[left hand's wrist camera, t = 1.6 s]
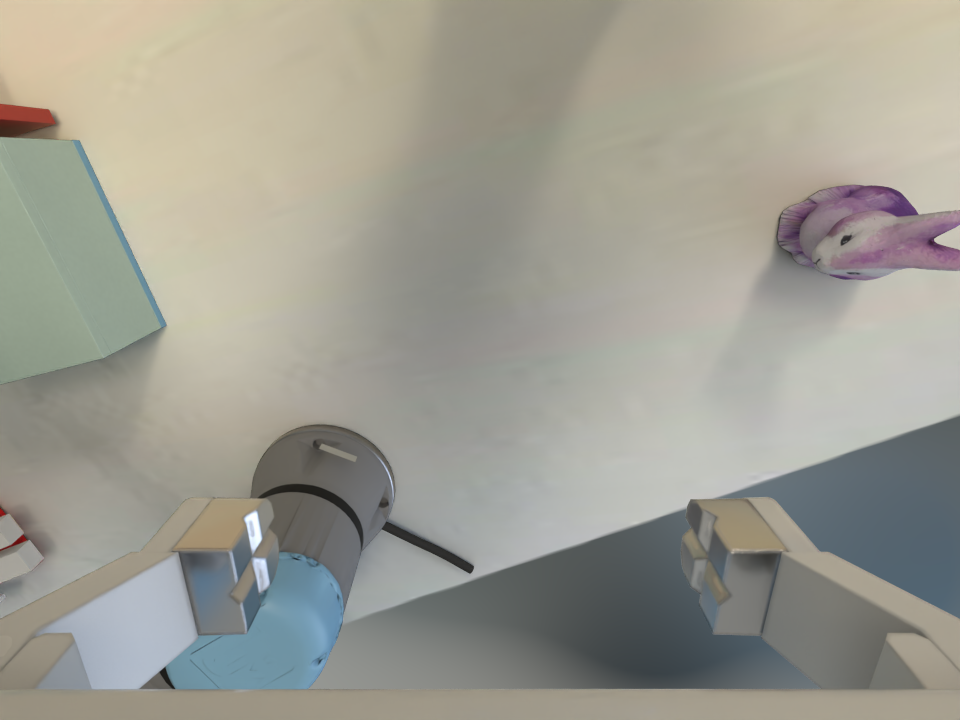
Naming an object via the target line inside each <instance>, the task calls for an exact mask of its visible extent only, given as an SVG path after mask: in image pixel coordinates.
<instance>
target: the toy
mask: <svg viewBox="0 0 960 720" xmlns="http://www.w3.org/2000/svg"><path fill="white" fill-rule="evenodd" d="M23 534H24V532H23V530H22V529H21V528H20V527H19V525H18V524H17V523H16V521H15V520H14V519H13V518H12V516H11V515H10V514H7V515H6V514H5V513H4V512H3V510H2V509H1V508H0V583H2V582H5V581H7V580H10V579H12V578H15V577H18V576H20V575H23V574H25V573H28V572H30V571H32V570H33V569H34V568H35V567H36V566H37V565H38V564H39V563H40V562H41V561H42V560H43V559H44V557H43V556H42V555H41V554H40V552H39V551H38V550H37V548H36V547H35V546H34V545H33V543H32V542H31V541H30V540H28V541H27V540H26V538H25V537H24V536H23ZM5 598H6V596H5V595H4V594H1V595H0V603H1V602H2V601H3V600H4V599H5Z"/></svg>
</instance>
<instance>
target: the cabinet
mask: <svg viewBox="0 0 960 720" xmlns="http://www.w3.org/2000/svg"><path fill="white" fill-rule="evenodd" d="M164 326H166V323H165V321H164V319H163V317H162V315H161V312H160V310H159V308H158V306H157V304H156V302H155V300H154V298H153V296H152V293H151V291H150V289H149V287H148V285H147V283H146V281H145V279H144V277H143V274H142V272H141V270H140V268H139V266H138V264H137V262H136V260H135V257H134V255H133V253H132V251H131V249H130V247H129V245H128V243H127V241H126V238H125V236H124V234H123V232H122V230H121V228H120V226H119V224H118V222H117V219H116V217H115V215H114V213H113V211H112V209H111V207H110V205H109V203H108V200H107V198H106V196H105V194H104V192H103V190H102V188H101V186H100V183H99V181H98V179H97V177H96V175H95V173H94V171H93V169H92V167H91V164H90V162H89V160H88V158H87V156H86V154H85V152H84V150H83V148H82V145H81V143H80V141H79V140H71V141H70V140H53V139H32V138H10V137H0V385H1V384H5V383H9V382H13V381H17V380H21V379H25V378H28V377H32V376H36V375H40V374H44V373H48V372H52V371H56V370H60V369H64V368H68V367H72V366H75V365H79V364H83V363H87V362H91V361H95V360H99V359H103V358H105V357H107V356H109V355H111V354H113V353H115V352H117V351H118V350H120V349H122V348H124V347H126V346H128V345H130V344H132V343H134V342H136V341H137V340H139V339H141V338H143V337H145V336H147V335H149V334H151V333H153V332H155V331H156V330H158V329H160V328H163V327H164Z"/></svg>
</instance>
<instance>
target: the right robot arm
mask: <svg viewBox="0 0 960 720" xmlns="http://www.w3.org/2000/svg"><path fill="white" fill-rule="evenodd" d="M394 496H395V482H394V477H393V473H392V471H391V468H390V466H389V464H388V462H387V460H386V459H385V457H384V456H383V455H382V453H381V452H380V451H379V450H378V449H377V448H376V447H375V446H374V445H373V444H372V443H371V442H369V441H368V440H366V439H365V438H363V437H362V436H360V435H358V434H356V433H354V432H352V431H349V430H347V429H343V428H340V427H335V426H328V425H311V426H305V427H301V428H297V429H295V430H292V431H290V432H288V433H286V434H284V435H282V436H281V437H279V438H278V439H277V440H276V441H275V442H274V443H273V444H272V445H271V446H270V447H269V448H268V449H267V451H266V452H265V453H264V455H263V456H262V458H261V459H260V461H259V463H258V466H257V468H256V471H255V473H254V477H253V482H252V491H251V498H260V499H268V500H269V501H270V502H271V503H272V507H273V512H274V519H273V521H272V523H271V525H270V526H269V528H270V529H271V530H272V531H273V532H274V533H275V534H276V535H277V536H278V543H279V562H278V566H277V571H276V575H275V577H274V579H273V582H272V584H271V586H270V587H269V588H268V589H266V590H265V591H264V592H262V593H261V594H259V595H260V601H261V607H260V609H259V611H258V613H257V615H256V617H255V619H254V621H253V623H252V625H251V627H250V629H249V631H248V633H247V634H241V635H206V636H198V637H199V638H198V639H197V640H196V641H195V642H194V643H192V644H191V645H190V646H189V647H188V648H187V649H185V650H184V651H183V652H182V653H181V654H179V655H178V656H177V657H176V658H175V659H174V660H172V661H171V662H170V663H169V664H168V665H167V666H165V667H164V668H163V669H162V670H161V671H159V672H158V673H157V674H156V675H155V676H154V677H152V678H151V679H150V680H149V681H148V682H146V683H145V684H144V685H143V686H142V687H141V688H139V689H308V688H309V687H310V686H311V685H312V684H313V683H314V682H315V680H316V679H317V678H318V676H319V675H320V673H321V672H322V670H323V668H324V666H325V664H326V661H327V659H328V656H329V654H330V652H331V650H332V648H333V646H334V644H335V643H336V640H337V638H338V634H339V632H340V629H341V626H342V622H343V614H344V610H345V607H346V603H347V600H348V596H349V593H350V590H351V586H352V583H353V579H354V576H355V572H356V569H357V565H358V562H359V558H360V554H361V551H362V550H363V549H364V548H365V547H366V546H367V545H368V544H369V543H370V542H371V540H372V539H373V538H374V537H375V536H376V535H377V534H378V533H379V532H380V530H381V529H383V530H385V531H387V532H389V533H391V534H393V535H395V536H397V537H399V538H401V539H403V540H405V541H407V542H409V543H411V544H413V545H416V546H418V547H420V548H422V549H424V550H426V551H429V552H431V553H433V554H435V555H437V556H439V557H441V558H443V559H445V560H447V561H449V562H450V563H452V564H454V565H456V566H457V567H459V568H461V569H463V570H464V571H466V572H468V573H472V571H473V569H474V566H473V565H471V564H469V563H467V562H466V561H464V560H462V559H460V558H459V557H457V556H455V555H453V554H452V553H450V552H448V551H446V550H444V549H442V548H440V547H438V546H436V545H434V544H432V543H430V542H428V541H425V540H423V539H421V538H419V537H417V536H415V535H413V534H411V533H409V532H407V531H405V530H403V529H401V528H399V527H396V526H394V525H392V524H390V523H388V522H386V521H387V519H388V517H389V514H390V512H391V509H392V505H393V501H394Z"/></svg>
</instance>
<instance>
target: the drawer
mask: <svg viewBox="0 0 960 720" xmlns="http://www.w3.org/2000/svg"><path fill="white" fill-rule="evenodd" d="M54 124H56V123H55V121H54V119H53V117H52V115H51V113H50V111H49V110H48V109H40V108H31V107H23V106H14V105H5V104H0V137H14V136H17V135H20V134H24V133H27V132H30V131H34V130H37V129H40V128H44V127H47V126H50V125H54Z"/></svg>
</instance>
